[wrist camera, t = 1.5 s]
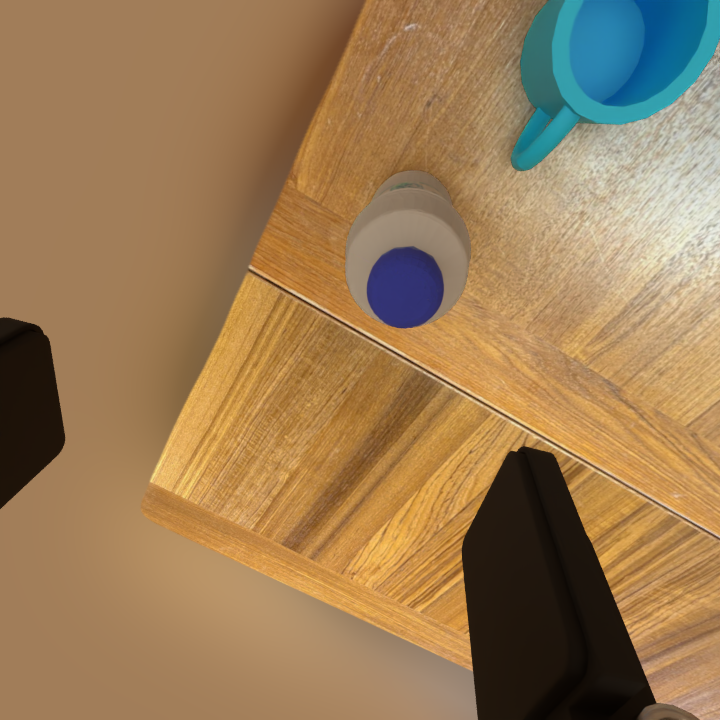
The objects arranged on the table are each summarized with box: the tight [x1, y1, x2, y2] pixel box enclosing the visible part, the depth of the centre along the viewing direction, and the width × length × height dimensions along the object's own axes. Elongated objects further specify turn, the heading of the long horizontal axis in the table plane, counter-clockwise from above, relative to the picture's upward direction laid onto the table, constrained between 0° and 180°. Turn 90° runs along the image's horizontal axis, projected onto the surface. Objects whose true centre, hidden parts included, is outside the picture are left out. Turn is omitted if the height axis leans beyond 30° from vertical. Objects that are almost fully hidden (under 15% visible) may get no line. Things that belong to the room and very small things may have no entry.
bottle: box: [345, 170, 471, 328], centre depth 27 cm, size 7×7×20 cm
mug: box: [511, 0, 720, 171], centre depth 27 cm, size 12×8×8 cm
